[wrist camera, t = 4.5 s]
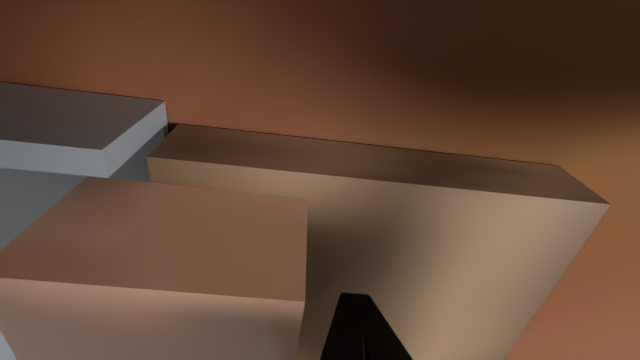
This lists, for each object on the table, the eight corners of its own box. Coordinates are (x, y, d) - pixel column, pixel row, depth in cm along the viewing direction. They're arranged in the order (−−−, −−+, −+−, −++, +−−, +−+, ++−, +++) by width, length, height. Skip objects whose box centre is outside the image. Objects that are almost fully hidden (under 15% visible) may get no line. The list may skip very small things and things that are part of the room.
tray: (164, 101, 9) (101, 150, 6) (198, 402, 16) (177, 481, 14) (-249, 53, 8) (-515, 86, 5) (-12, 392, 16) (-77, 472, 13)
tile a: (308, 198, 8) (305, 302, 5) (289, 330, 10) (280, 444, 8) (88, 175, 8) (-30, 275, 5) (123, 318, 10) (57, 434, 7)
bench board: (559, 165, 10) (610, 204, 8) (425, 408, 17) (437, 456, 15) (178, 124, 9) (146, 156, 7) (204, 396, 16) (191, 446, 14)
